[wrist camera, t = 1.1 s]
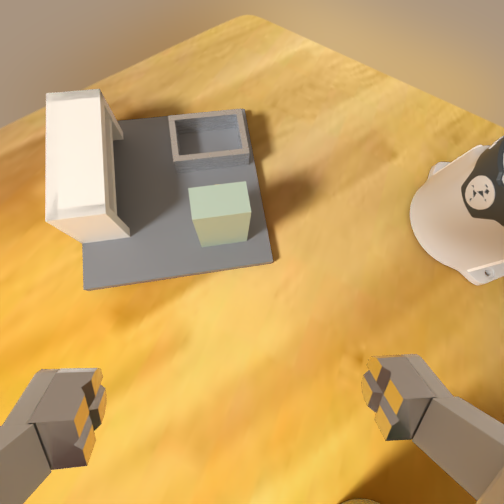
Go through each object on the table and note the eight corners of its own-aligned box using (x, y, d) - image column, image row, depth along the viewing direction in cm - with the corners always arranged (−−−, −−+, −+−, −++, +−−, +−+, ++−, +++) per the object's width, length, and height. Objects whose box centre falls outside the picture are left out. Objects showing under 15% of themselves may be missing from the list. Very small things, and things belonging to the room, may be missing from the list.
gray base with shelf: (244, 114, 47) (246, 63, 38) (272, 263, 41) (282, 243, 32) (83, 129, 45) (46, 79, 36) (88, 290, 39) (45, 278, 30)
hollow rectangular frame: (240, 123, 45) (241, 108, 42) (248, 165, 43) (249, 153, 41) (172, 129, 44) (168, 115, 41) (177, 173, 42) (173, 161, 40)
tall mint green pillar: (241, 210, 42) (244, 172, 32) (246, 241, 40) (251, 212, 31) (197, 215, 41) (187, 179, 31) (201, 247, 40) (192, 219, 30)
